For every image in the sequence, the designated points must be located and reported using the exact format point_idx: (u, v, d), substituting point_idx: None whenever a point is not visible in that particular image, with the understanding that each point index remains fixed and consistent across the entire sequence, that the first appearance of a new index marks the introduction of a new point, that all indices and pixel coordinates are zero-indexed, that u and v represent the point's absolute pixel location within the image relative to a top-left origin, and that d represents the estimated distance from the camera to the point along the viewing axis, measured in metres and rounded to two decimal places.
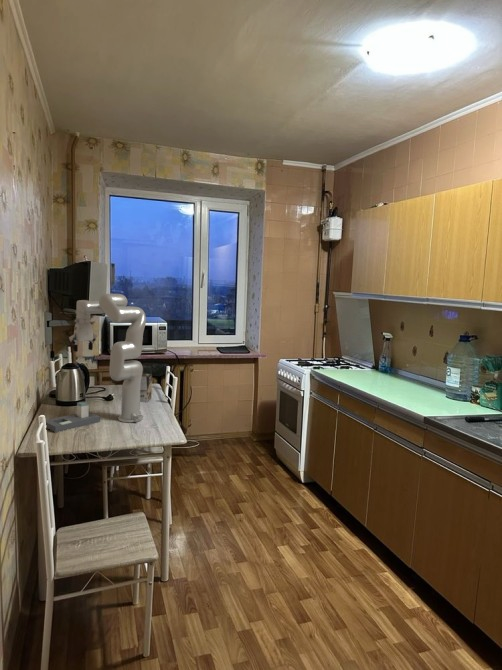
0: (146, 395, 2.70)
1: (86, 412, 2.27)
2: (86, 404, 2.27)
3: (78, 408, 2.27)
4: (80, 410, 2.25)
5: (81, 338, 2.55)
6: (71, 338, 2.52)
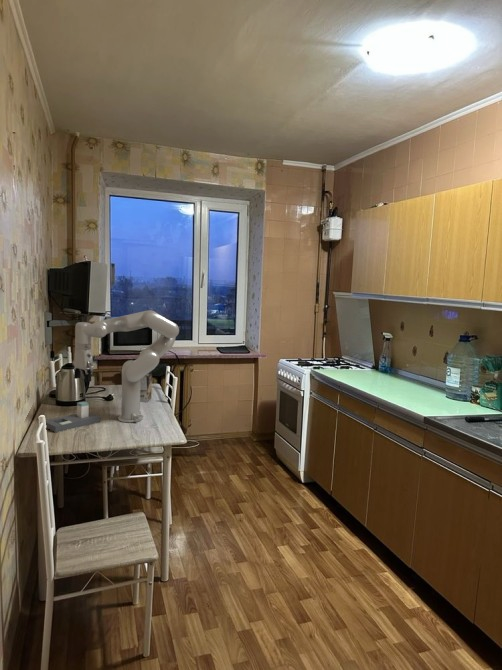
0: (146, 395, 2.70)
1: (86, 412, 2.27)
2: (86, 404, 2.27)
3: (78, 408, 2.27)
4: (80, 410, 2.25)
5: None
6: None
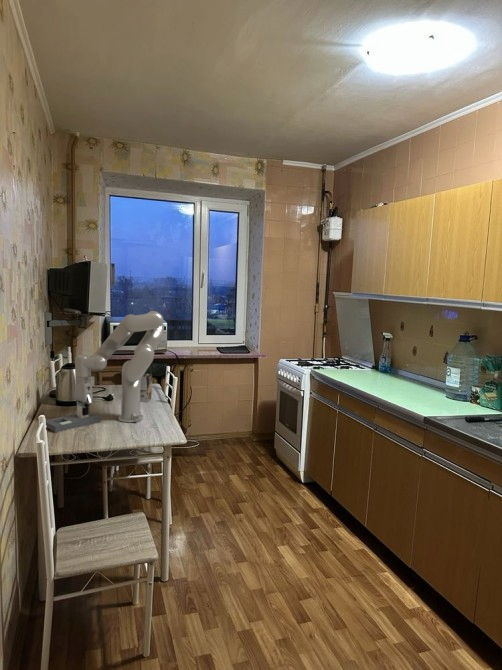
0: (146, 395, 2.70)
1: None
2: None
3: (78, 408, 2.27)
4: (80, 410, 2.25)
5: None
6: None
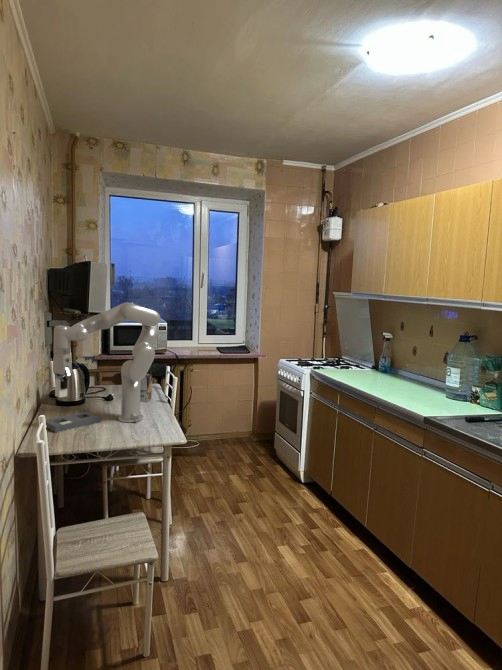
0: (146, 395, 2.70)
1: None
2: None
3: (56, 381, 2.16)
4: (58, 383, 2.14)
5: None
6: None
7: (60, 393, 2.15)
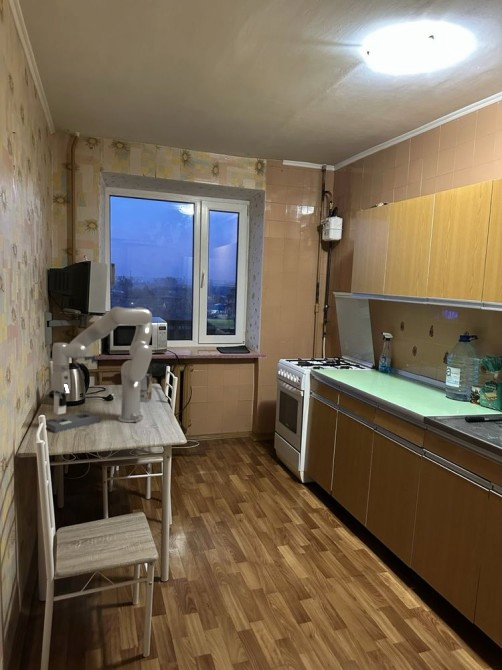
0: (146, 395, 2.70)
1: None
2: None
3: (54, 398, 2.16)
4: (57, 400, 2.15)
5: None
6: None
7: (59, 410, 2.15)
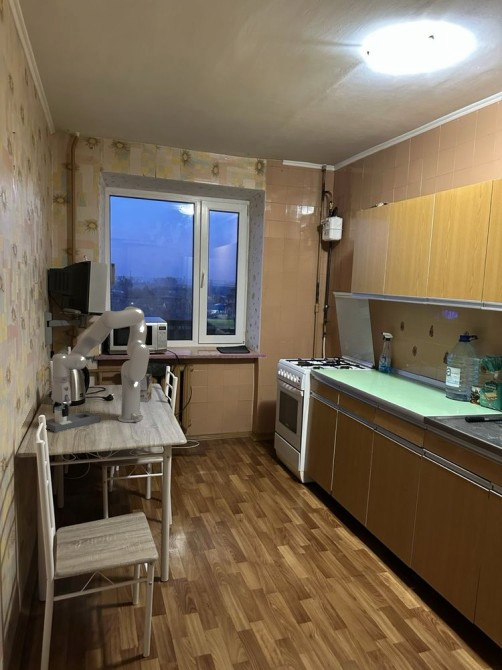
0: (146, 395, 2.70)
1: (64, 417, 2.18)
2: None
3: (55, 412, 2.17)
4: (58, 415, 2.16)
5: None
6: None
7: None
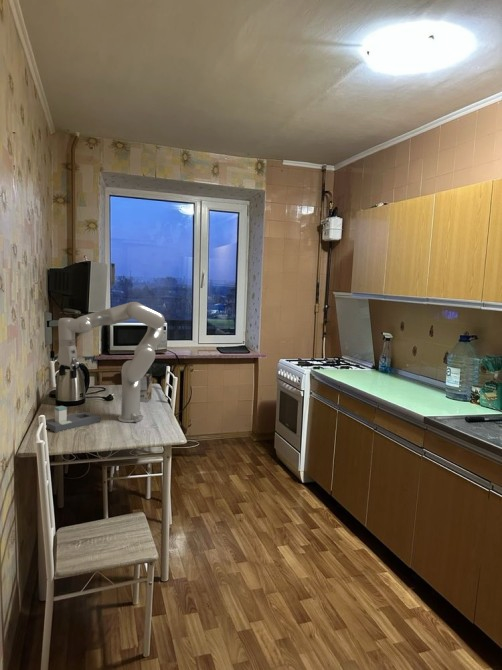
0: (146, 395, 2.70)
1: (64, 417, 2.18)
2: (64, 408, 2.17)
3: (55, 412, 2.17)
4: (58, 415, 2.16)
5: None
6: None
7: None
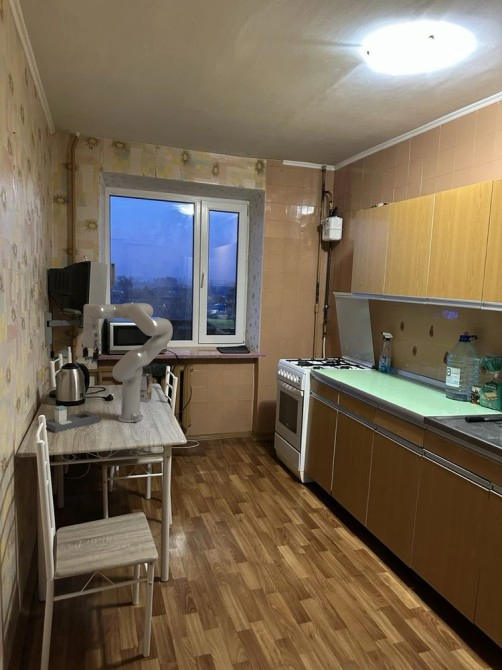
0: (146, 395, 2.70)
1: (64, 417, 2.18)
2: (64, 409, 2.17)
3: (55, 412, 2.17)
4: (58, 415, 2.16)
5: None
6: None
7: None
